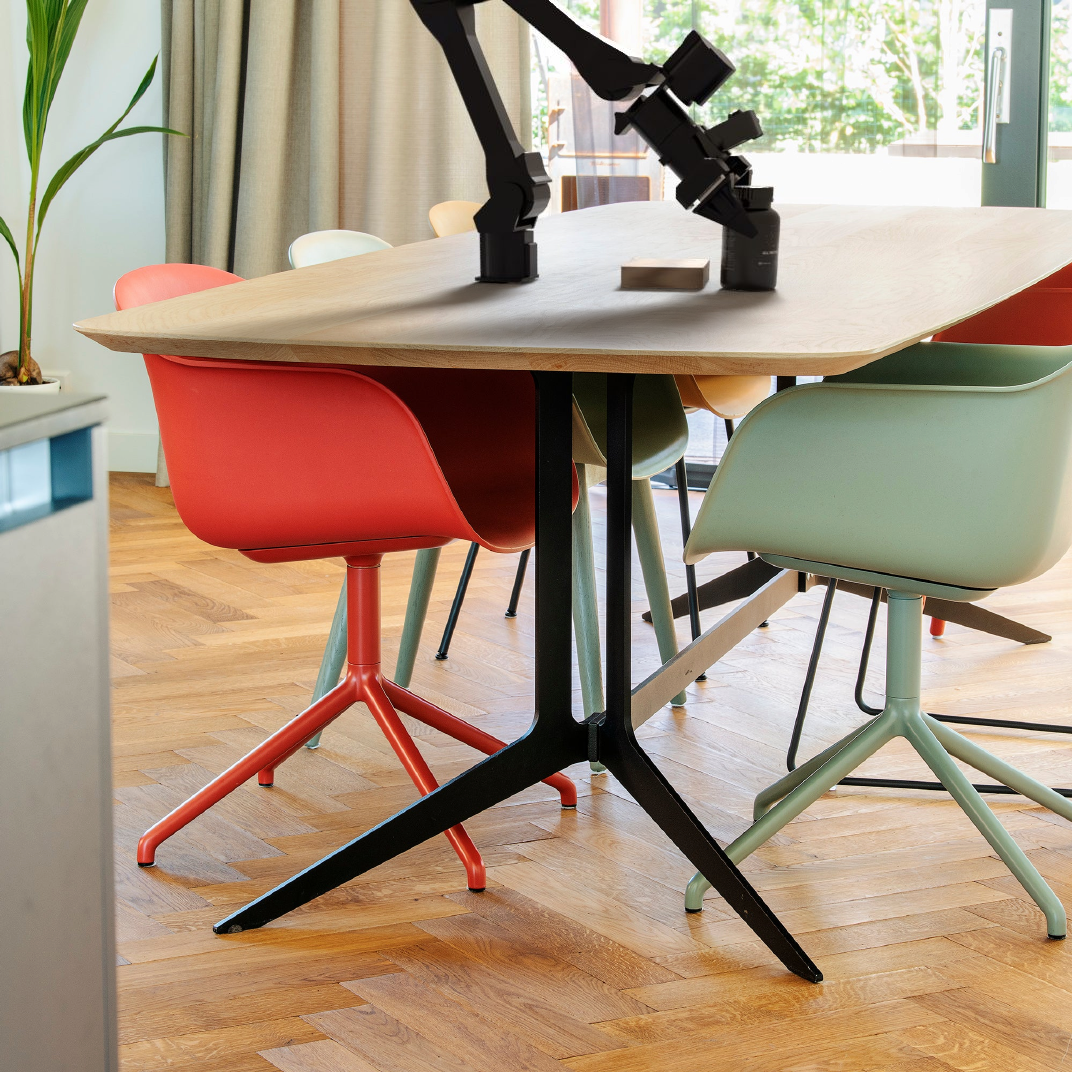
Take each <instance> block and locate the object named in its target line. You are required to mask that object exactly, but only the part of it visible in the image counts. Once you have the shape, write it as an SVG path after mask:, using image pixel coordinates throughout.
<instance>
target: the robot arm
mask: <svg viewBox="0 0 1072 1072" xmlns="http://www.w3.org/2000/svg"><path fill="white" fill-rule="evenodd" d="M408 1H409V3H410V5H411V6H412V8H413V10H414V11H415V13H416V15H417V16H418V18H419V20H420V22H421V23H422V24H423V26H424V27H425V28H426V30H428V31H429V33H430V34H431V35H432V36H433V38H434V39H435V40H436V42H438V44H439V45H440V47H441V49H442V51H443V54H444V56H445V59H446V62H447V64H448V66H449V68H450V69H449V70H450V72H451V73H452V77H453V79H454V81H455V83H456V86H457V89H458V91H459V94H460V96H461V98H462V100H463V104H464V105H465V108H466V111H467V114H468V116H469V118H470V121H471V124H472V126H473V128H474V130H475V133H476V135H477V137H478V140H479V143H480V145H481V147H482V150H483V154H484V158H485V159H484V160H485V181H486V185H487V189H488V194H489V198H488V199H487V201H486V202H485V203H483V205H482V206H481V207H480V208H479V210H477V211H476V213H475V214H474V215H473V217H472V220H473V223H474V225H475V228H476V232H477V233H478V234H479V237H478V238H479V276H474V281H475V282H491V283H492V282H494V283H495V282H496V283H500V282H501V283H519V284H520V283H524V282H527V281H531V280H535V279H539V278H540V273H539V272H538V271H539V269H538V268H539V267H538V243H537V242H536V241H535V240H534V239H535V237H534V236H535V234H534V233H535V230H534V229H535V227H536V223H537V222H538V218H539V216H540V215H541V214H542V213H544V212H545V210H546V209H547V208H548V205H549V203H550V201H551V194H552V193H551V188H550V184H551V183H553V179H552V178H551V176H550V175H549V174H548V173H547V171H546V169H545V165H544V160H543V156H542V154H541V152H540V151H538V150H537V151H527V150H526V149H525V148H524V147H523V146H522V144H521V143H520V141H519V140H518V137H517V134H516V132H515V130H514V127H513V125H512V122H511V119H510V117H509V114H508V112H507V109H506V108H505V105H504V102H503V100H502V97H501V94H500V92H499V89H498V87H497V84H496V82H495V79H494V77H493V74H492V72H491V69H490V67H489V64H488V62H487V59H486V57H485V55H484V52H483V49H482V46H481V44H480V42H479V39H478V37H477V33H476V14H475V13H476V12H475V5H479V4H483V3H487V2H489V1H491V0H408ZM501 1H502V2H503V3H504V4H506V5H507V6H508V7H510V8H511V9H512V10H513V11H514V12H515V13H517V15H519V16H520V17H521V18H523V19H524V21H525V22H527V23H528V24H529V25H530V26H532V27H533V28H534V29H535V30H537V31H538V32H539V34H541V35H543V36H544V37H545V38H546V39H547V40H548V41H550V43H552V45H555V47H556V48H558V49H559V50H560V51H561V52H562V53H563V54H565V55H566V56H567V58H568V59H569V60H570V61H571V63H572V64H573V66H574V67H575V69H576V70H577V71H576V72H578V74H579V75H580V77H581V78H582V79H583V80H584V82H585V83H586V84H587V85H588V86H589V87H590V89H591V91H592V92H593V93H594V94H595V95H596V96H597V97H599V98H600V99H601V100H603V101H608V102H618V103H619V102H620V103H625V102H632V101H633V100H634V102H633V103H631V105H630V106H629V107H628V108H627V109H626V110H625V111H615V112H614V113H613V116H614V122H615V123H614V131H613V134H614V135H615V136H626V135H628V133H629V132H630V131H631V130H632V129H633V130H634V131H635V132H636V134H638V135H639V136H640V138H641V139H642V140H643V141H644V142H645V143H646V144H647V145H648V146H649V147H650V149H652V151H654V153H655V154H656V155H657V156H658V160H657V161H658V162H659V164H660V165H662V167H663V168H664V167H668V169H670V170H671V172H672V173H673V174H674V175H675V176H676V177H677V178H678V179H679V180H680V182H679V183H678V184H677V185H676V186H675V200H676V201H677V202H678V203H679V204H680V205H681V206H682V207H683V208H684V210H685V211H689V210H691V213H693V214H695V215H698V216H700V217H702V218H705V219H707V220H709V221H711V222H714V223H716V224H719V225H721V226H725V227H727V228H729V229H732V230H734V231H736V232H738V233H740V234H743V235H745V236H747V237H749V238H754V237H755V236H756V235H757V234H758V233H759V231H758V229H757V228H756V226H755V224H754V223H753V221H752V220H751V218H750V217H749V215H748V214H747V212H746V210H745V209H744V207H743V206H742V204H741V203H740V201H739V200H738V198H737V197H736V195H735V193H734V186H752V181H753V180H752V177H753V173H754V172H753V169H752V167H753V165H752V164H751V163H750V162H749V161H748V160H747V159H746V157H745V156H744V155H743V154H733V153H732V152H731V151H730V150H732V149H734V148H736V147H738V146H740V145H742V144H744V143H747V142H748V141H751V140H756V139H759V138H760V137H763V136H764V135H765V134H764V132H763V129H762V127H761V124H760V118H758V116H757V115H756V112H755V110H754V109H747V110H743V108H738V109H737V110H735V111H733V112H730V113H728V115H727V119H725V120H724V121H722V122H720V123H718V124H715V125H714V126H712V127H710V128H708V127H707V126H706V124H701V123H699V124H697V123H696V121H694V119H693V118H692V117H691V116H690V115H689V114H688V113H687V112H686V110H685V109H684V108H683V107H682V106H681V105H680V104H679V103H678V102H677V101H676V100H675V99H674V98H673V96H672V95H670V93H669V92H668V90H670V91H671V93H672V94H673V95H674V96H675V98H677V99H678V101H680V102H681V103H682V104H683V105H684V106H686V107H688V108H690V107H692V105H693V103H695V104H696V105H697V106H700V107H703V106H704V105H706V103H708V101H709V100H710V99H711V98H712V96H714V95H715V93H717V91H718V90H719V89H720V88H721V87H722V86H723V85H724V84H725V83H726V82H727V81H728V80H729V79H730V78H731V77H732V76H733V75H734V74H735V72H737V68H736V67H735V65H734V64H733V63H732V61H731V60H730V59H729V57H727V55H726V54H725V53H724V51H722V50H721V49H720V48H716V47H715V45H714V44H713V43H712V42H710V40H708V39H707V38H706V37H704V36H703V35H702V34H701V32H700V31H698V30H696V29H691V31H689V32H688V34H687V35H686V36H685V37H684V40H682V43H681V44H680V45H679V47H678V48H677V49H676V50H675V51H674V52H673V53H672V54H671V55H670V56H669V57H668V58H667V59H666V60H665V61H664V63H663V64H662V63H661V62H656V61H651V62H649V64H648V63H646V62H645V61H644V60H643V59H642V57H640V56H639V55H638V54H636V53H634V52H633V51H631V50H629V49H628V48H625V47H623V46H622V45H620V44H618V43H616V42H615V41H613V40H611V39H609V38H606V37H605V36H603V35H600V34H599V33H597V32H595V31H594V30H592V29H590V28H589V27H588V26H587V25H586V24H585V23H583V22H582V21H581V20H580V19H579V18H578V17H576V16H575V15H574V14H573V13H571V11H569V10H568V9H567V8H566V7H564V6H563V5H562V4H561V3H560V2H559V1H558V0H501ZM657 86H658V87H657ZM654 87H656V89H655V90H654V91H652V92H651V93H650V94H649V95H648V96H646V95H644V94H642V93H643V92H644V90H646V89H649V88H654ZM549 183H550V184H549ZM696 201H698V202H699V203H698V204H697V205H696V206H695V202H696ZM694 206H695V207H694Z"/></svg>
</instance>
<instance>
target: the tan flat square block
mask: <svg viewBox="0 0 1072 1072" xmlns="http://www.w3.org/2000/svg"><path fill="white" fill-rule="evenodd" d="M710 262H711V259H706V258H705V259H704V258H702V259H701V258H697V259H696V258H695V259H693V258H637V257H636V258H635V257H633V258H630V259H629V260H628V261H626V262H625V263H624V264H622V265H620V288H641V289H642V288H644V289H646V288H648V289H649V288H653V289H655V288H657V289H695V290H696V289H697V290H698V289H699V290H700V289H704V288H705V286H706V285H707V283H708V282H709V280H710V269H711V268H710V265H711V263H710Z"/></svg>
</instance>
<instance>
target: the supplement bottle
mask: <svg viewBox="0 0 1072 1072" xmlns="http://www.w3.org/2000/svg"><path fill="white" fill-rule="evenodd" d="M774 189H775V188H774V186H772V185H771V186H769V185H751V186H734V193H735V195H736V197H737V198H738V200H739V201H740V203H741V204H742V206H743V207H744V209H745V210H746V212H747V214H748V215H749V217H750V218H751V220H752V221H753V223H754V224H755V226H756V228H757V229H758V231H759V233H758V234H757V235H756V236H755V237H754V238H749V237H747V236H745V235H743V234H740V233H738V232H736V231H734V230H732V229H729V228H727V227H725V226H723V225H721V227H722V229H721V231H722V233H721V248H720V249H721V254H720V273H719V274H720V278H719V284H720V286H721V288H722V289H724V290H729V291H740V292H765V291H773V290H775V288H776V287H777V284H778V283H777V282H778V270H779V269H778V268H779V251H780V250H779V249H780V236H781V235H780V234H781V216H780V214H779V213H778V212H777V211H776V210H775V209H773V208H772V203H774V202H775V201H774V200H775V199H774Z"/></svg>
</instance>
